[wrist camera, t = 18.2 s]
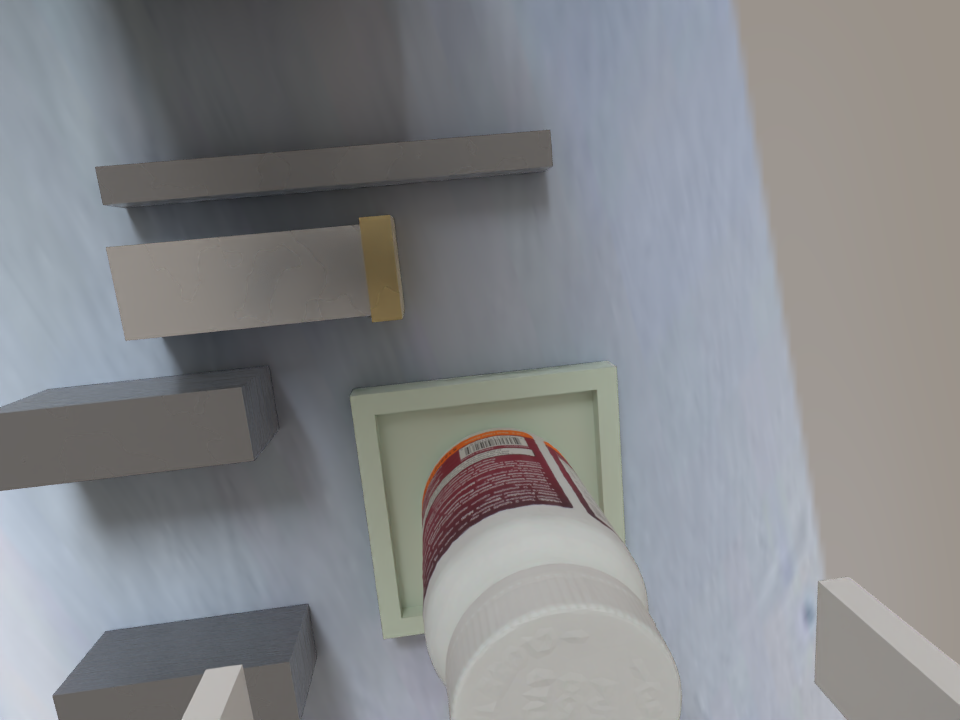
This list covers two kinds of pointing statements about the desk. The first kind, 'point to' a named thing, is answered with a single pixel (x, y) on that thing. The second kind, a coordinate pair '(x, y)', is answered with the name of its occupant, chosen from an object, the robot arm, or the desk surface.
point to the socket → (148, 449)
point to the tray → (448, 419)
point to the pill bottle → (534, 592)
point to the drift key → (258, 279)
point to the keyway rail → (323, 169)
